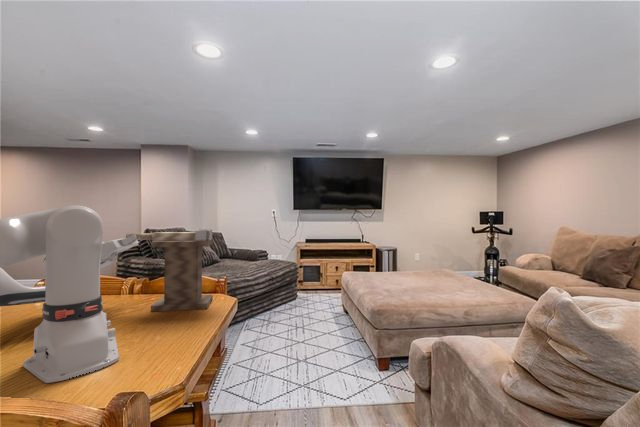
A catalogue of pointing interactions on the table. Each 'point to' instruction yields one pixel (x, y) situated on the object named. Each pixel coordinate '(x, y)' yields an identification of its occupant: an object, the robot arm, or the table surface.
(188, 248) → the walnut stand
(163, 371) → the table surface
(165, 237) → the ash rail
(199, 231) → the cup bracket
